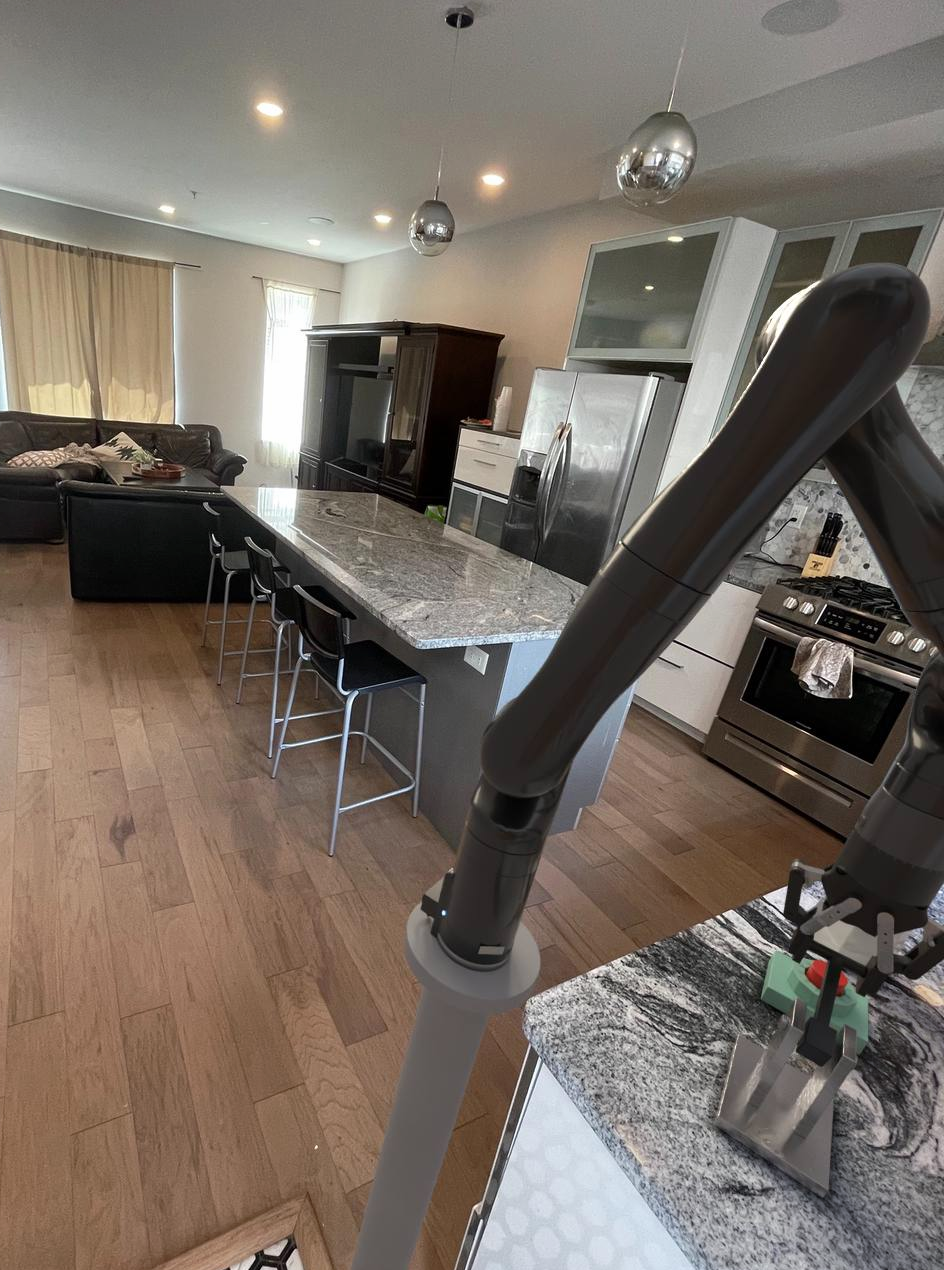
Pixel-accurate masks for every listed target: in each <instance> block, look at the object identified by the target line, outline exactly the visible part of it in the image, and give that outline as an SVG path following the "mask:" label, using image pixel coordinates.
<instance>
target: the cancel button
mask: <svg viewBox="0 0 944 1270" xmlns="http://www.w3.org/2000/svg"><path fill="white" fill-rule="evenodd" d="M826 965H827V961H825V960H821V959H816V960H814V961H813V963H812V964H811V966H810V968H809V970H808V971H807V974H806V975H807V978H808V980H809V981H810V982H811V983H812V984H813V985H814V986H815V987H817V988H818V989H819V990H820V989H821V985H822V981H823V977H824V973H825V969H826ZM848 981H849V980H848V977H847V976H846V974H845V973H844V972H843V971H842V972H841V976H840V980H839V985H838V989H837V993H836V996H839V995H841V993H842V992H843V990H844V988H845V987H846V985H847V983H848Z"/></svg>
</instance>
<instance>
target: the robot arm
mask: <svg viewBox="0 0 944 1270" xmlns="http://www.w3.org/2000/svg"><path fill="white" fill-rule="evenodd" d="M931 315H932V305H931V298H930V294H929V290H928V288H927V286H926V284H925V283H924V281H923V280H922V278H921V277H920V275H918V274H917V273H916V272H915V271H914V270H912V269H910V268H908V267H907V266H904V265H901V264H898V263H893V262H869V263H864V264H858V265H855V266H849V267H847V268H844V269H840V270H839V269H838V270H837V271H835V272H833V273H830V274H828V275H826V276H824V277H822V278H820V279H819V280H817V281H814V282H813V283H812V284H809V285H808V286H807V287H805V288H803V289H802V290H800V291H798V292H796V293H795V294H793V295H792V296H790V297H789V298H787V299H786V300H785V301H784V302H783V303H782V304H780V306H778V307H777V309H776V310H775V311H774V312H773V313H772V314H771V315H770V317H769V318H768V320H767V321H766V323H765V324H764V326H763V328H762V330H761V332H760V334H759V336H758V339H757V343H756V346H755V351H754V366H755V367H754V368H755V373H754V376H753V377H752V378H751V380H750V382H749V384H748V386H746V388H745V390H744V391H743V392H742V394H741V396H740V398H739V399H738V401H737V402H736V404H735V405H734V407H733V408H732V410H731V412H730V413H729V415H728V416H727V418H726V419H725V420H724V422H723V423H722V424H721V426H720V428H719V429H718V431H717V432H716V433H715V434H714V436H713V437H712V438H711V440H710V441H709V442H708V443H707V444H706V446H705V447H704V448H703V449H702V450H701V451H700V452H699V453H698V454H697V456H696V457H695V458H694V459H693V460H692V461H691V462H690V463H689V464H687V465H686V467H684V469H682V471H680V473H678V475H676V476H675V477H674V479H672V480H671V481H670V482H669V483H668V484H667V485H666V487H664V488H663V489H662V490H661V492H660V493H659V494H658V495H656V496H655V498H654V499H653V500H652V501H650V503H649V504H648V505H647V506H646V507H645V509H643V511H642V512H640V514H639V515H638V516H637V518H635V520H634V521H633V522H632V523H631V524H630V526H629V527H628V528H627V529H626V531H625V532H624V533H623V535H622V536H621V537H620V539H619V540H618V542H617V543H616V544H615V546H614V547H613V549H612V550H611V551H610V553H609V555H608V556H607V557H606V559H605V560H604V562H603V563H602V564H601V566H600V567H599V568H598V570H597V572H596V573H595V575H594V576H593V577H592V580H591V581H590V583H589V584H588V586H587V588H585V590H584V592H583V594H582V595H581V597H580V599H579V601H578V602H577V604H576V606H575V607H574V609H573V611H572V613H571V614H570V616H569V618H568V619H567V620H566V623H565V625H564V627H563V628H562V631H561V632H560V634H559V636H558V637H557V640H556V642H555V643H554V646H553V647H552V648H551V651H550V652H549V654H548V656H547V658H546V659H545V661H544V662H543V663H542V665H541V667H540V668H539V669H538V671H537V672H536V674H535V675H533V678H532V679H531V680H530V681H529V682H528V683H527V684H526V686H525V687H523V689H522V690H521V691H520V693H519V694H518V695H517V696H515V697H514V698H511V699H510V700H509V701H508V702H507V703H505V704H504V705H503V706H502V708H501V709H500V710H499V712H497V714H496V715H495V716H494V718H493V719H492V720H491V721H490V722H489V724H488V725H487V726H486V728H485V730H484V732H483V734H482V737H481V739H480V745H479V752H478V753H479V755H478V756H479V763H480V768H481V771H482V772H481V775H480V777H479V780H478V781H477V785H476V787H475V789H474V791H473V793H472V796H471V798H470V801H469V805H468V807H467V808H468V809H467V813H466V817H465V821H464V825H463V829H462V832H461V836H460V840H459V844H458V848H457V852H456V856H455V859H454V863H453V866H452V867H451V868H450V869H448V870H447V871H446V872H445V874H444V875H443V876H442V877H441V878H439V880H438V881H436V883H434V884H433V886H431V887H430V888H429V889H428V890H427V891H426V892H425V893H423V895H422V897H421V902H422V905H421V909H420V910H422V911H423V912H425V913H426V914H427V917H430V916H431V917H432V918H434V920H433V924H432V928H431V932H430V933H431V935H433V936H434V937H435V938H437V941H438V944H439V946H440V947H441V949H442V950H443V952H444V953H445V954H446V955H447V956H448V957H449V958H450V959H451V960H453V961H454V962H455V963H457V964H459V965H460V966H462V967H465V968H467V969H470V970H474V971H480V972H489V971H495V970H498V969H500V968H501V967H503V966H504V965H505V964H506V963H507V962H508V960H509V958H510V955H511V952H512V947H513V944H514V940H515V937H516V934H517V931H518V928H519V924H520V921H521V922H522V918H523V915H524V911H525V908H526V906H527V903H528V899H529V897H530V893H531V890H532V887H533V884H534V881H535V877H536V874H537V871H538V868H539V865H540V861H541V858H542V855H543V852H544V849H545V846H546V843H547V840H548V837H549V835H550V831H551V829H552V825H553V824H554V820H555V818H556V815H557V812H558V809H559V806H560V804H561V800H562V796H563V793H564V790H565V788H566V784H567V781H568V778H569V776H570V772H571V770H572V766H573V764H574V760H575V759H576V757H577V755H578V754H579V752H580V751H581V749H582V747H583V746H584V744H585V743H586V741H587V740H588V738H589V737H590V736H591V734H592V732H593V731H594V730H595V728H596V726H597V725H598V724H599V722H600V721H601V720H602V719H603V717H604V716H605V714H606V713H607V712H608V711H609V709H610V708H611V707H612V706H613V704H615V703H616V701H617V700H618V699H619V698H620V697H622V695H623V694H624V693H625V692H626V691H627V690H629V688H630V687H632V686H633V684H634V683H635V682H636V681H638V680H639V679H640V677H641V676H642V675H644V674H645V672H646V671H647V670H648V669H649V668H650V667H651V666H652V665H653V664H654V663H655V662H656V661H657V660H658V658H660V656H661V655H662V654H663V653H664V652H665V651H666V650H667V649H668V648H669V646H670V645H672V643H673V642H674V641H675V640H676V639H677V637H678V636H679V635H681V633H682V632H683V631H684V630H685V629H686V628H687V627H688V625H689V624H691V622H692V621H693V619H694V618H695V617H696V616H697V614H698V613H699V612H700V611H701V610H702V609H703V607H704V606H705V605H706V603H707V602H709V600H710V599H711V598H712V596H713V595H714V594H715V593H716V592H717V590H718V589H719V587H720V586H721V585H722V584H723V582H724V580H725V579H726V578H727V577H728V575H729V574H730V573H731V571H732V570H733V569H734V568H735V566H737V564H738V563H739V562H740V560H741V559H742V558H743V556H745V554H746V552H748V551H749V549H750V548H751V547H752V545H753V544H754V543H755V541H757V539H758V538H759V536H760V535H761V534H762V532H763V531H764V529H765V528H766V527H767V526H768V524H769V523H770V521H771V520H772V519H773V517H774V516H775V515H776V513H777V512H778V510H779V509H780V508H781V506H782V505H783V504H784V502H786V500H787V498H788V497H789V496H790V495H791V494H792V492H793V491H794V489H796V487H797V486H798V485H799V484H800V483H801V481H802V480H803V479H804V478H805V477H806V476H807V475H808V474H809V472H810V471H811V470H812V469H813V468H814V467H815V466H816V465H817V464H818V463H819V462H820V461H821V462H822V464H823V465H824V466H825V468H826V470H827V472H828V473H829V474H830V476H831V477H832V480H834V482H835V484H836V485H837V487H838V489H839V491H840V492H841V494H842V496H843V498H844V500H845V501H846V503H847V505H848V507H849V509H850V511H851V512H852V515H853V517H854V518H855V520H856V522H857V524H858V526H859V528H860V531H861V533H862V535H863V537H864V539H865V541H866V542H867V544H868V546H869V549H870V551H871V552H872V554H873V557H874V559H875V561H876V563H877V564H878V566H879V570H880V571H881V573H882V575H883V577H884V579H885V580H886V583H887V584H888V587H889V588H890V590H891V592H892V594H893V597H894V598H895V600H896V602H897V604H898V606H899V607H900V610H901V612H902V613H903V615H904V617H905V618H906V619H907V621H908V622H909V624H910V625H911V626H912V628H913V629H915V630H916V631H917V632H918V633H919V634H921V635H922V636H923V637H925V638H926V639H927V640H928V641H930V643H932V644H933V645H934V647H935V648H936V649H937V650H936V651H935V652H934V653H933V655H932V656H930V658H929V659H928V661H927V662H926V664H925V665H924V668H923V670H922V671H921V674H920V676H919V679H918V682H917V684H916V689H915V693H914V696H913V699H912V703H911V708H910V712H909V716H908V721H907V728H906V735H905V739H904V743H903V745H902V747H901V749H900V750H899V751H898V754H897V755H896V757H895V759H894V761H893V762H892V764H891V765H890V768H889V769H888V772H887V773H886V775H885V777H884V779H883V780H882V782H881V784H880V786H879V787H878V788H877V789H876V790H875V792H874V793H873V794H872V795H871V797H870V798H869V800H868V801H867V803H866V805H864V808H863V810H862V812H861V813H860V815H859V817H858V819H857V821H856V822H855V825H854V827H853V828H852V830H851V831H850V834H849V836H848V837H847V839H846V841H845V843H844V844H843V847H842V848H841V850H840V852H839V854H838V856H837V858H836V859H835V861H834V862H833V863H832V864H831V865H829V866H826V867H825V868H824V869H822V868H818V867H815V866H811V865H807V864H806V862H805V861H804V860H803V859H800V858H794V859H793V860H792V861H791V865H790V870H789V875H788V882H787V886H786V887H787V888H786V894H785V899H784V906H783V913H782V915H783V918H784V919H785V920H786V921H789V922H793V924H795V925H796V926H797V927H796V929H795V931H794V932H793V934H792V936H791V938H790V940H789V944H788V953H789V954H790V955H792V957H791V958H792V960H793V961H795V962H797V963H799V964H800V963H801V961H802V959H803V958H805V956H806V954H807V952H808V951H809V950H808V948H809V947H810V945H811V943H812V941H813V940H814V933H816V932H817V931H819V930H821V929H822V928H824V927H826V926H827V927H829V926H831V925H832V924H834V923H836V922H837V921H839V920H840V921H842V922H844V923H846V924H849V925H852V926H856V927H858V928H860V929H861V930H862V931H864V932H865V933H867V934H869V935H871V936H873V937H876V935H877V955H876V957H875V956H873V955H872V957H871V958H870V960H869V961H868V963H867V965H866V966H867V967H868V971H867V973H866V975H865V977H864V978H862V977H860V976H858V978H857V980H856V982H855V991H856V993H857V994H859V995H861V996H863V997H865V996H866V997H867V994H868V995H870V996H875V995H877V994H878V992H879V991H880V990H881V988H882V986H883V985H884V983H885V982H886V980H887V979H888V977H889V976H890V975H893V974H897V975H901V976H904V977H905V978H906V979H907V980H909V981H917V980H919V979H921V977H923V976H924V975H925V974H927V973H928V972H930V971H931V970H932V969H933V968H935V967H936V966H937V965H939V964H940V963H941V962H943V961H944V924H941V923H939V922H937V920H934V919H933V918H932V917H930V916H929V915H928V909H929V907H930V905H931V904H932V903H933V901H934V899H936V896H938V894H939V892H940V890H941V888H943V886H944V464H943V462H942V461H941V460H940V459H939V457H938V456H937V455H936V454H935V453H934V451H933V450H932V448H931V447H930V446H929V444H928V443H927V442H926V440H925V439H924V437H923V436H922V434H921V433H920V431H919V429H918V428H917V426H916V425H915V423H914V422H913V421H914V420H913V419H912V417H911V415H910V413H909V412H908V409H907V408H906V406H905V403H904V401H903V399H902V396H901V394H900V391H899V388H898V385H897V382H899V380H900V379H901V378H902V377H903V376H904V375H905V374H906V372H908V370H909V369H910V367H911V366H912V365H913V363H914V362H915V360H916V358H917V356H918V355H919V353H920V351H921V349H922V348H923V346H924V342H925V340H926V337H927V335H928V332H929V327H930V323H931ZM817 882H821V885H822V889H823V891H824V894H825V897H823V898H821V899H820V900H818V902H817V903H816V904H815V905H813V906H812V907H811V908H809V909H808V910H806V909H804V908H803V907H802V906H801V905H800V904H801V903H800V902H801V898H802V892H803V889H809V888H812V887H813V885H814V883H817ZM921 928H922V929H923V930H922V932H921V934H922V935H921V936H922V940H921V941H920V942H918V943H917V944H916V945H915V946H913V947H912V948H911V949H909V950H908V951H907V952H905V953H904V954H903V955H902V954H899V953H898V954H894V934H898V933H902V932H906V931H910V930H913V931H914V930H918V929H921Z"/></svg>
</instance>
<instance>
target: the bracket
mask: <svg viewBox="0 0 944 1270" xmlns="http://www.w3.org/2000/svg"><path fill="white" fill-rule="evenodd" d="M806 1012H807V1003H806V1002H804V1001H802V1000H800V999H799V998H797V997H796V998H795V1000H794V1001H793V1003H792V1005H791V1007H790V1008H789V1010H788V1012H787V1014H785V1013H783V1014H782V1015H781V1016H780V1018H779V1020H778V1023H777V1029H776V1031H775V1033H774V1034H773V1036H772V1038H771V1039H770V1042H769V1043H768V1045H767V1046H766V1049H765V1048H762V1047H761V1046H759V1045H758V1044H756V1043H754V1042H753V1041H751V1040H750V1039H748V1038H746V1037H745V1036H743V1035H741V1034H739V1033H738V1034H737V1036H736V1038H735V1040H734V1042H733V1046H732V1050H731V1054H730V1058H729V1061H728V1066H727V1070H726V1074H725V1077H724V1078H725V1079H724V1083H723V1087H722V1090H721V1094H720V1098H719V1102H718V1105H717V1106H718V1107H717V1109H716V1113H715V1114H716V1115H715V1118H714V1122H713V1125H714V1126H715V1127H717V1128H718V1129H720V1130H721V1131H723V1132H724V1133H726V1134H727V1135H729V1136H730V1137H731V1138H733V1139H734V1140H736V1141H738V1142H739V1143H741V1144H742V1145H743V1146H745V1147H746V1148H748V1149H749V1150H751V1151H752V1152H754V1153H755V1154H757V1155H758V1156H759V1157H761V1158H763V1159H764V1160H766V1161H767V1162H768V1163H770V1164H771V1165H773V1166H774V1167H776V1168H777V1169H778V1170H780V1171H782V1172H783V1173H785V1175H787V1176H789V1177H790V1178H792V1179H793V1180H795V1181H796V1182H798V1183H800V1184H801V1185H802V1186H804V1187H806V1188H807V1189H808V1190H809V1191H811V1192H812V1193H814V1194H815V1195H816V1196H818V1197H820V1198H821V1199H824V1197H825V1196H826V1195H827V1193H828V1192H829V1189H830V1188H829V1187H830V1172H831V1171H830V1170H831V1155H832V1153H831V1152H832V1138H833V1121H834V1120H833V1119H834V1102H835V1095H836V1094H837V1092H838V1091H839V1090H840V1088H841V1086H843V1083H844V1082H845V1081H846V1079H847V1078H848V1076H849V1074H851V1071H854V1069H855V1068H856V1066H857V1064H858V1060H859V1057H858V1054H857V1053H856V1045H857V1030H855V1029H853V1028H852V1027H850V1026H848V1025H846V1024H844V1026H843V1027H842V1029H841V1030H840V1032H839V1033H838V1035H837V1037H836V1041H835V1046H834V1051H833V1055H832V1058H831V1059H830V1060H829V1061H828V1062H827V1063H826V1064H825V1065H824V1066H823V1067H820V1066H819V1065H817V1067H816V1069H815V1070H814V1072H813V1073H812V1075H811V1076H810V1075H808V1074H806V1073H805V1072H803V1071H802V1070H800V1069H798V1068H796V1067H795V1066H793V1065H791V1064H789V1063H788V1061H789V1059H790V1057H791V1055H792V1054H793V1052H794V1051H795V1050H796V1047H797V1044H798V1042H799V1040H800V1039H801V1037H802V1035H803V1034H804V1028H805V1020H806Z"/></svg>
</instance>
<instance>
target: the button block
mask: <svg viewBox="0 0 944 1270" xmlns="http://www.w3.org/2000/svg"><path fill="white" fill-rule="evenodd" d="M813 961H815V960H813V959H808V958H805V957H803V959H802V961H801V963H800V964H799V963H797V962H795V961H793V960H792V957H791V956H788V955H786V954H784V953H783V952H780V951H778V950H777V949H775V950H774V951H773V953H772V955H771V957H770V959H769V961H768V964H767V968H766V971H765V977H764V981H763V985H762V990H761V991H762V992H761V996H760V1001H762V1002H764V1003H766V1004H768V1005H769V1006H771V1007H773V1008H774V1009H777V1010H778V1011H780V1012H782V1013H783V1014H784V1015H786V1014H787V1012H788V1010H789V1008H790V1007H791V1005H792V1003H793V1001H794V1000H795V998H796V997H797V998H799V999H800V1000H802V1001H804V1002H806V1003H807V1012H806V1020H805V1023H806V1022H807V1020H808V1019H809V1018H810V1017H814V1013H815V1009H816V1005H817V1001H818V997H819V993H820V990H819V989H818V988H817V987H815V986H814V985H813V984H812V983H811V982H810V981H809V980H808V978H807V975H806V974H807V971H808V970H809V968H810V966H811V964H812V963H813ZM844 1024H846V1025H848V1026H850V1027H852V1028H853V1029H855V1030H857V1045H856V1055H857V1056H860V1055H861V1054H862V1052H863V1050H864V1049H865V1048H866V1046H867V1044H868V1043H869V997H868V996H867V995H866V996H865V997H863V996H861V995H859V994H857V993H856V989H855V988H854V987H853V985H852V984H851V982H850V981H849V980H848V983H847V985H846V987H845V988H844V990H843V992H842V993H841V995H839V996H836V998H835V1002H834V1007H833V1011H832V1015H831V1020H830V1024H829V1027H831V1028H833V1029H835V1030H837V1035H838V1033H839V1032H840V1030H841V1029H842V1027H843V1026H844Z"/></svg>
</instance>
